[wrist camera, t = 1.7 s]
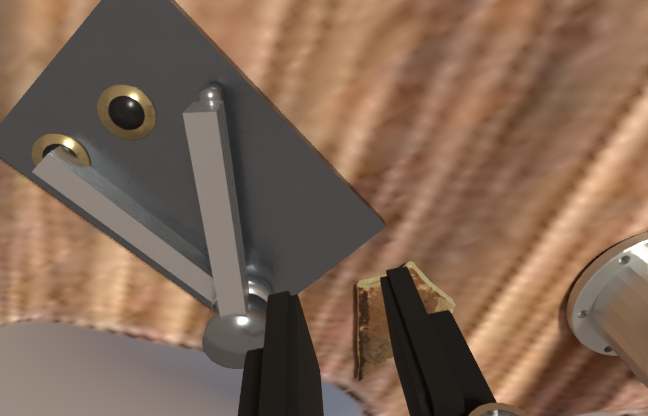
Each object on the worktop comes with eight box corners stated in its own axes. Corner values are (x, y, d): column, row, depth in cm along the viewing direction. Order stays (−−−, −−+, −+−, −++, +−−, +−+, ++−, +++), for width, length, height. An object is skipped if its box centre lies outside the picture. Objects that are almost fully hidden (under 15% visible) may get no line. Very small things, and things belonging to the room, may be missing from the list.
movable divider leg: (276, 322, 31) (274, 366, 28) (218, 326, 31) (208, 371, 27) (251, 82, 23) (243, 98, 19) (172, 85, 23) (148, 102, 19)
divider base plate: (383, 219, 29) (391, 238, 27) (247, 324, 33) (243, 350, 31) (139, -37, 21) (120, -41, 19) (-7, 139, 25) (-38, 155, 22)
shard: (356, 367, 37) (359, 384, 35) (296, 324, 34) (296, 340, 32) (454, 298, 34) (462, 313, 32) (396, 244, 31) (402, 257, 29)
